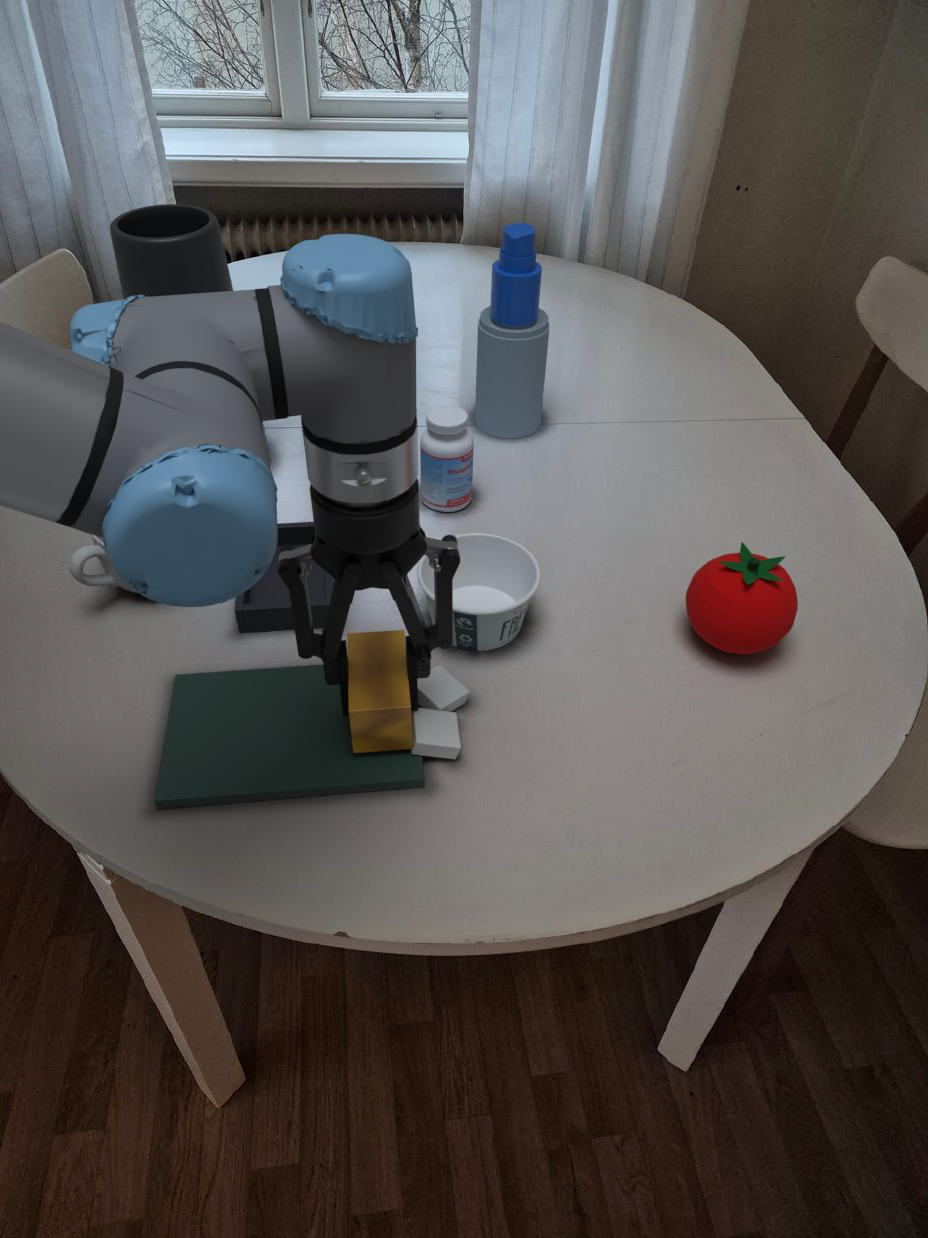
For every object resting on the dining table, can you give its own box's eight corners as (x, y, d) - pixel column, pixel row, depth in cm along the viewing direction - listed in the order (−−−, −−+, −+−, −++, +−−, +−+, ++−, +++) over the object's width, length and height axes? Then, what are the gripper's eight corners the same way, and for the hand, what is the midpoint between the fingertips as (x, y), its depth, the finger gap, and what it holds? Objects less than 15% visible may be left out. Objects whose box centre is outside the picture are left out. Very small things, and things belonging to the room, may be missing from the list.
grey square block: (411, 754, 73) (416, 742, 72) (408, 718, 76) (413, 706, 75) (455, 759, 74) (461, 748, 73) (450, 723, 77) (456, 712, 76)
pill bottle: (456, 519, 100) (457, 435, 92) (411, 503, 102) (409, 419, 94) (480, 493, 104) (484, 410, 96) (437, 478, 106) (437, 396, 98)
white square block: (436, 721, 77) (440, 709, 76) (405, 692, 78) (410, 680, 77) (465, 702, 80) (470, 691, 79) (436, 675, 81) (440, 663, 80)
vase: (275, 432, 112) (240, 197, 92) (264, 493, 103) (222, 245, 83) (168, 434, 112) (110, 197, 92) (147, 496, 102) (77, 246, 82)
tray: (239, 633, 86) (234, 610, 83) (248, 547, 95) (243, 524, 93) (336, 626, 86) (334, 604, 84) (335, 542, 96) (333, 520, 94)
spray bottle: (494, 397, 120) (504, 209, 103) (552, 415, 117) (571, 224, 100) (462, 426, 115) (466, 232, 97) (521, 445, 111) (536, 248, 94)
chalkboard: (157, 809, 71) (153, 801, 70) (178, 683, 81) (175, 674, 80) (424, 787, 73) (424, 778, 72) (412, 666, 83) (412, 658, 82)
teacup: (184, 531, 97) (168, 471, 92) (231, 580, 91) (217, 520, 86) (62, 581, 91) (37, 520, 85) (104, 638, 85) (80, 577, 79)
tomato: (658, 614, 89) (676, 537, 82) (745, 593, 91) (770, 517, 84) (711, 686, 82) (736, 609, 75) (804, 661, 84) (836, 584, 77)
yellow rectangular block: (353, 753, 73) (348, 711, 69) (351, 675, 79) (347, 632, 75) (412, 749, 73) (410, 707, 69) (405, 671, 80) (404, 629, 76)
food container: (440, 570, 93) (440, 521, 89) (547, 594, 91) (553, 546, 86) (400, 645, 85) (398, 595, 80) (518, 674, 82) (523, 624, 78)
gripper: (225, 519, 55) (273, 743, 72) (501, 504, 57) (488, 727, 73) (234, 455, 61) (277, 677, 77) (486, 443, 63) (476, 663, 79)
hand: (380, 701), depth 75 cm, fingers closed on yellow rectangular block, 5 cm apart
